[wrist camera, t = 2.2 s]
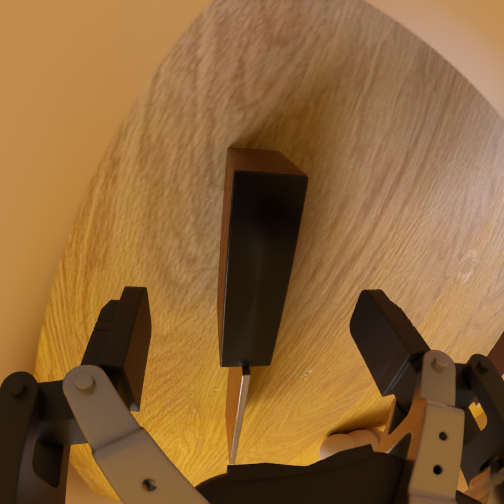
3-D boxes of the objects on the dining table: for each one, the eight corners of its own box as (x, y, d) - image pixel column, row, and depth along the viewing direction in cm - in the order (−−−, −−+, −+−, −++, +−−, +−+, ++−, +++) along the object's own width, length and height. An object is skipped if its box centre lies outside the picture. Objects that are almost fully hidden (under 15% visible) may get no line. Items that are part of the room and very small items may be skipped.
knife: (227, 147, 13) (234, 174, 8) (280, 151, 13) (314, 181, 9) (213, 415, 23) (217, 464, 19) (240, 414, 24) (246, 463, 19)
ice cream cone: (422, 471, 25) (322, 483, 23) (399, 456, 30) (306, 460, 29) (438, 431, 26) (338, 438, 25) (412, 419, 32) (319, 419, 31)
